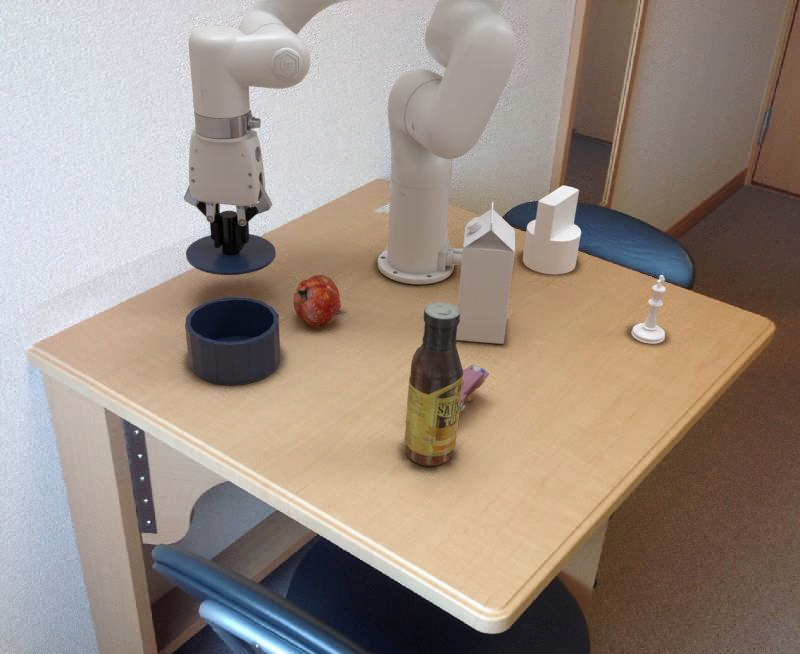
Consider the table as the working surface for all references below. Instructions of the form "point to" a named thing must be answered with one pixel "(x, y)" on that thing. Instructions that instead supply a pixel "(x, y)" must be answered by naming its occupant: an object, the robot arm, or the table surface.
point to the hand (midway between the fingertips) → (230, 244)
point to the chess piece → (652, 318)
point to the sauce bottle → (434, 388)
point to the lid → (230, 251)
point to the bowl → (233, 340)
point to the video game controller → (471, 382)
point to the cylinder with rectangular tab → (553, 234)
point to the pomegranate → (317, 300)
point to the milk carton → (485, 278)
